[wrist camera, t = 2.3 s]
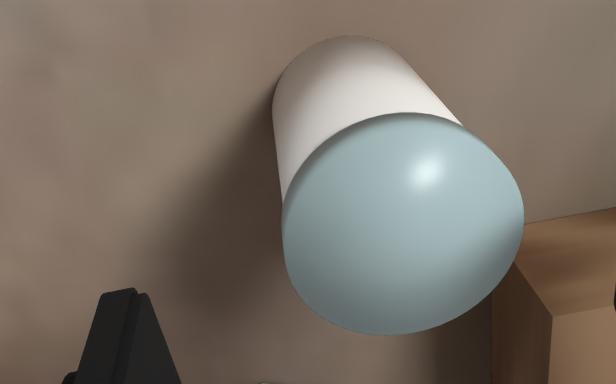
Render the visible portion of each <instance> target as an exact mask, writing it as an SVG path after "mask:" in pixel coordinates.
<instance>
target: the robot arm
mask: <svg viewBox="0 0 616 384" xmlns="http://www.w3.org/2000/svg"><path fill="white" fill-rule="evenodd" d="M614 308H615V311H616V286H615V293H614ZM62 384H182V383H181V381H180V378H179V376H178V373H177V370H176V368H175V365H174V362H173V360H172V357H171V354H170V352H169V349H168V346H167V344H166V341H165V339H164V336H163V333H162V331H161V328H160V325H159V323H158V320H157V317H156V315H155V312H154V309H153V307H152V304H151V301H150V299H149V297H148V295H147V294H146V293H141V294H138V293H137V291H136V290H135V288H127V289H122V290H117V291H112V292H107V293H104V294H102V295H101V297H100V300H99V303H98V306H97V309H96V313H95V316H94V319H93V322H92V325H91V329H90V332H89V335H88V338H87V342H86V345H85V348H84V351H83V354H82V358H81V361H80V364H79V367H78V371H76V372H71V373H69V374H67V375H66V376H65V378H64V380H63V382H62Z"/></svg>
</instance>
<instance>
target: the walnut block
mask: <svg viewBox="0 0 616 384" xmlns="http://www.w3.org/2000/svg"><path fill="white" fill-rule="evenodd" d="M615 286H616V207H615V208H610V209H605V210H599V211H594V212H589V213H583V214H578V215H573V216H568V217H562V218H557V219H552V220H546V221H541V222H536V223H531V224H525V225H523V234H522V238H521V242H520V246H519V249H518V251H517V254H516V256H515V259H514V261H513V262H512V264H511V266H510V268H509V270H508V271H507V273H506V274H505V276H504V277H503V278H502V280H501V281H500V282H499V284H498V285H497V286H496V287H495V288H494V289H493V290H492V384H616V311H615V308H614V293H615Z"/></svg>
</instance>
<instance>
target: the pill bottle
mask: <svg viewBox="0 0 616 384" xmlns="http://www.w3.org/2000/svg"><path fill="white" fill-rule="evenodd" d="M272 120H273V128H274V136H275V144H276V153H277V161H278V169H279V177H280V186H281V194H282V202H283V208H282V214H281V231H282V240H283V250H284V258H285V265H286V269H287V272H288V275H289V278H290V281H291V283H292V285H293V287H294V289H295V290H296V292H297V293H298V295H299V296H300V297H301V299H302V300H303V301H304V302H305V303H306V304H307V305H308V306H309V308H310V309H312V310H313V311H314V312H315V313H317V314H318V315H319V316H320V317H322V318H324V319H325V320H327V321H329V322H331V323H332V324H335V325H337V326H339V327H342V328H344V329H347V330H351V331H354V332H358V333H364V334H370V335H384V336H386V335H402V334H409V333H415V332H419V331H423V330H427V329H430V328H433V327H436V326H439V325H442V324H444V323H446V322H448V321H450V320H453V319H455V318H456V317H458V316H460V315H462V314H463V313H465V312H467V311H468V310H470V309H471V308H472V307H474V306H475V305H477V304H478V303H479V302H480V301H482V300H483V299H484V298H485V297H486V296H487V295H488V294H489V293H490V292H491V291H492V290H493V289H494V288H495V287H496V286H497V285H498V284H499V282H500V281H501V280H502V278H503V277H504V276H505V274H506V273H507V271H508V270H509V268H510V266H511V264H512V262H513V261H514V259H515V256H516V254H517V251H518V249H519V246H520V242H521V238H522V234H523V225H524V209H523V203H522V198H521V194H520V192H519V189H518V186H517V184H516V182H515V180H514V178H513V177H512V175H511V173H510V172H509V170H508V169H507V168H506V167H505V165H504V164H503V163H502V162H501V161H500V160H499V159H498V157H497V156H496V155H495V154H494V153H493V152H492V151H491V150H490V149H489V148H488V146H487V145H486V144H485V143H484V142H483V141H482V140H481V139H480V138H479V137H477V136H476V135H475V134H474V133H473V132H472V131H470V130H468V129H467V128H465V127H464V126H462V124H461V123H460V122H459V121H458V120H457V119H456V118H455V117H454V115H453V114H452V113H451V112H450V111H449V110H448V109H447V108H446V106H445V105H444V104H443V103H442V102H441V101H440V100H439V99H438V97H437V96H436V95H435V94H434V93H433V92H432V91H431V90H430V88H429V87H428V86H427V85H426V84H425V83H424V82H423V80H422V79H421V78H420V77H419V76H418V75H417V74H416V73H415V71H414V70H413V69H412V68H411V67H410V66H409V65H408V64H407V62H406V61H405V60H404V59H403V58H402V57H401V56H400V55H399V54H398V53H397V52H396V51H395V50H393V49H392V48H390V47H389V46H387V45H386V44H383V43H381V42H379V41H377V40H374V39H370V38H367V37H360V36H341V37H335V38H331V39H327V40H324V41H322V42H319V43H317V44H315V45H313V46H311V47H309V48H308V49H306V50H305V51H303V52H302V53H301V54H299V55H298V56H297V57H296V58H295V59H294V60H293V61H292V62H291V63H290V65H289V66H288V67H287V68H286V70H285V71H284V73H283V74H282V76H281V78H280V80H279V82H278V84H277V86H276V89H275V93H274V96H273V103H272Z"/></svg>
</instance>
